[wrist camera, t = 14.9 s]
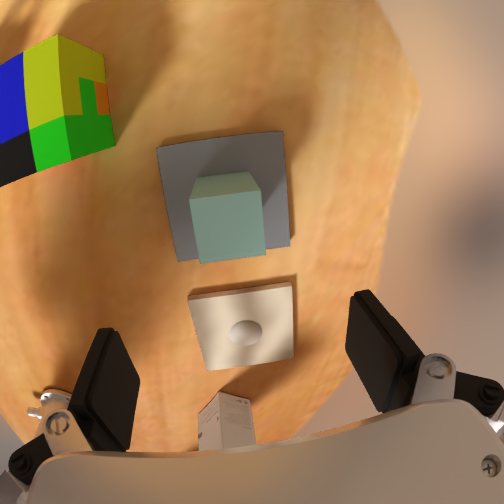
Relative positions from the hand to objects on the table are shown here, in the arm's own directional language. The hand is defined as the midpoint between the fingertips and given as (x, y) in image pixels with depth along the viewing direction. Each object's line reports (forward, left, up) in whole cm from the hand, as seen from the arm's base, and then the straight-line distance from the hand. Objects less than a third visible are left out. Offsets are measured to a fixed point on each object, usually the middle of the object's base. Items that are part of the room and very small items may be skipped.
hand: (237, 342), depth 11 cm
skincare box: (-5, -34, -21) cm, 40 cm away
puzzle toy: (-15, +12, -21) cm, 29 cm away
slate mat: (0, 0, -21) cm, 21 cm away
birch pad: (0, -17, -21) cm, 27 cm away
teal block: (0, 0, -20) cm, 20 cm away
